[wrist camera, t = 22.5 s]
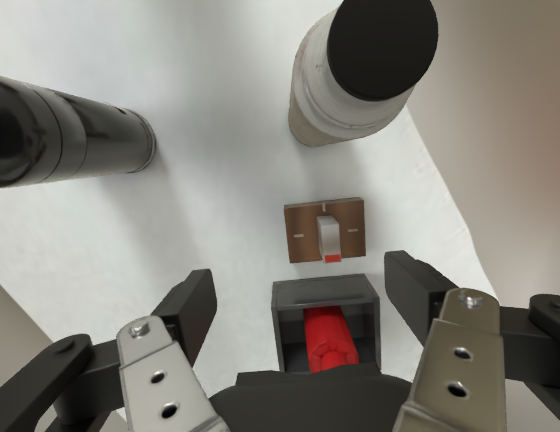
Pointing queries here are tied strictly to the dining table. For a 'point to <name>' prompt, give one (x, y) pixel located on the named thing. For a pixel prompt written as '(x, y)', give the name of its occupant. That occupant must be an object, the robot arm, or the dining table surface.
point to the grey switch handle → (329, 239)
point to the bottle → (328, 338)
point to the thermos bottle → (359, 68)
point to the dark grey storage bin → (320, 293)
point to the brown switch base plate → (306, 232)
